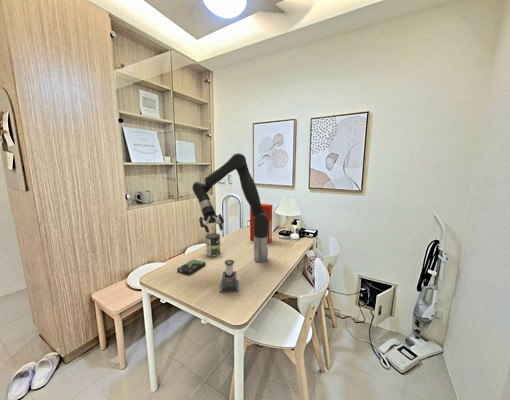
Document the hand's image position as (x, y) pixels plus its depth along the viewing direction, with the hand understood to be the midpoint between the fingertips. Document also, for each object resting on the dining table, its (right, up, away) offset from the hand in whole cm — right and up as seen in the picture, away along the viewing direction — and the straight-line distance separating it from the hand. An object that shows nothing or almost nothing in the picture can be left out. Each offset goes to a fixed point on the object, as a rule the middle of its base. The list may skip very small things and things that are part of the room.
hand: (215, 231), depth 125 cm
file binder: (+29, -17, +60) cm, 68 cm away
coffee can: (-7, -22, +32) cm, 40 cm away
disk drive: (-17, -26, +10) cm, 32 cm away
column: (+10, -28, -10) cm, 31 cm away
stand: (+10, -29, -10) cm, 32 cm away
